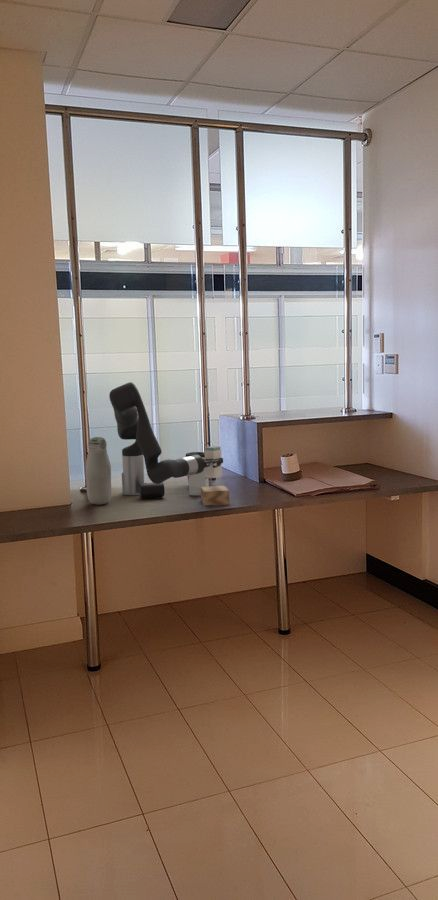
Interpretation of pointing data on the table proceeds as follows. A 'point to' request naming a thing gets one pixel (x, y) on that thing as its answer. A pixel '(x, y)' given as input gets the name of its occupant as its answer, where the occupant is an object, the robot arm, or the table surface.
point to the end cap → (151, 490)
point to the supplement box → (197, 483)
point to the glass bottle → (98, 472)
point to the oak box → (215, 495)
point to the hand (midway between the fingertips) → (217, 459)
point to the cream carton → (215, 454)
